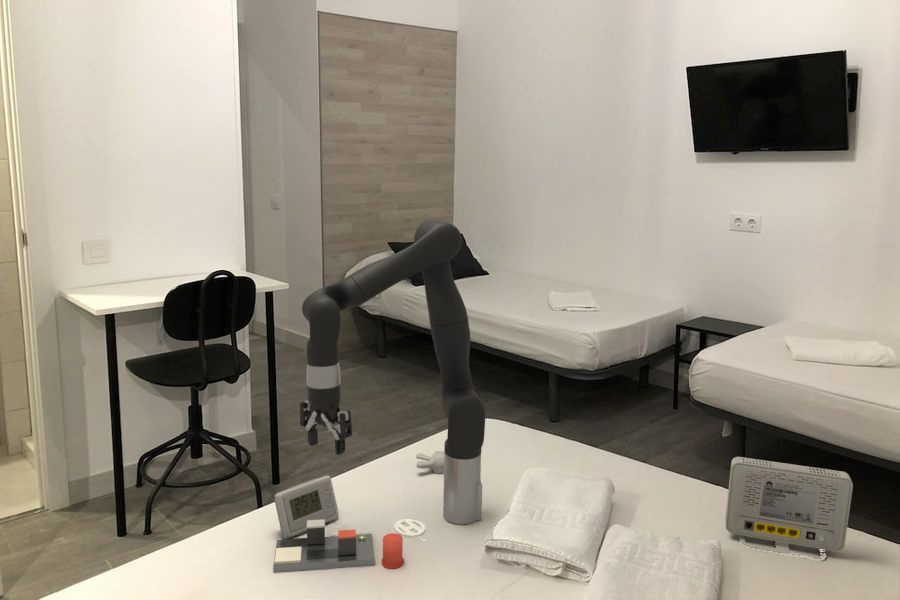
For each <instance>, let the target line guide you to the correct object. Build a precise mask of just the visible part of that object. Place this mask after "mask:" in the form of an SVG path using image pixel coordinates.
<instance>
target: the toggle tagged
mask: <svg viewBox="0 0 900 600" xmlns="http://www.w3.org/2000/svg"><path fill="white" fill-rule="evenodd" d="M356 535H357V529H356V528H354V529H341V530H337V536H338V555H352V554H356Z"/></svg>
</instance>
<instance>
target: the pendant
mask: <svg viewBox="0 0 900 600" xmlns="http://www.w3.org/2000/svg"><path fill="white" fill-rule="evenodd" d="M404 525H407V526H404ZM413 531H415V532H413ZM394 532H395V533H396V534H399V535H401V536H402V537H405V538H417V537H418V538H419V539H420V540H421V542H427V540H426V538H422V537H421V536H423V535H424V534H425V532H426V526H425V525H424V523H422V522H421V521H419V520H416V519H413V518H405V519H404V518H403V519H400V520H398V521H396V522H395V523H394Z"/></svg>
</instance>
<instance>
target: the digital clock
mask: <svg viewBox="0 0 900 600" xmlns="http://www.w3.org/2000/svg"><path fill="white" fill-rule="evenodd" d="M333 486H334V485H333V481H332V477H331V476H330V475H324V476H321V477H317V478H313V479H309V480H307V481H305V482H301V483H299V484H297V485H294V486H291V487H288V488H287V489H285V490H282V491H279V492H277V493H275V494H274V496H273V498H274V504H275V508H276V509H275V510H276V513H277V518H278V523H279V527H280V532H281V535H282V537H283V539H291V538H294V537H295V536H300V535H302V534H304V533H307V520H322V519H325V525H327V524H328V523H329V522H332V521H334V520H336V519H337V518H339V514H340V513H339V508H338V504H337V500H336V495H335V490H334V487H333Z"/></svg>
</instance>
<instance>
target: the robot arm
mask: <svg viewBox="0 0 900 600" xmlns="http://www.w3.org/2000/svg"><path fill="white" fill-rule="evenodd" d="M461 233H462V232H460V230H459V229H458V228H457V226H455V225H454V224H451V223H450V222H448V221H447V222H446V221H442V220H435V219H428V220H424V221H422V222H421V223H420V224H419V225H417V228H416V230H415V232H414V235H413V236H414V237H413V243H412V244H411V245H409V246H408V247H406V248H404V249H402V250H400V251H398V252H395V253H393V254H392V255H389V256H387V257H383V258H381V259H378V260H376V261H373V262H370V263H369V264H367V265H364V266H363V267H362V268H360V269H358V270H356V271H355V272H353V273H351V274H349V275H348V276H346V277H344V278H343V279H341V280H339V281H337V282H333V283H331V284H329V285H326V286H323V287H321V288H319V289H317V290H315V291H313V292H312V293H310V294H308V296H307V297H306V298H305V299H304V301H303V302H302V304H301V312H302V315H303V317H304V319H306V320H307V321H308V323H309V339H308V340H307V342H306V390H307V391H306V393H307V394H306V395H307V397H306V398H307V399H306V400H304V401H301V402H300V404H299V425H300V427H304V428H305V430H306V431H307V441H308V446H310V447H314V446H317V445H318V443H319V438H318V428H317V427H318V426H319V425H320V426H323V427H326V428H327V429H328V431H329V432H331V433H332V434H333V437H334V448H335V451H334V452H335V453H334V454H335V455H337V456H340V455H342V454H344V453H345V451H346V439H348V438H349V437H351V436H353V426H352V413H351V411H350V410H345V411H343V410H341V409H340V403H341V401H342V381H341V379H342V378H341V367H340V357H339V356H340V355H339V339H340V338H339V337H340V331H341V322H342V320H341V319H342V317H341V311H343V310H345V309H347V308H356V307H360V306H362V305H363V304H366V302H368V301H371V300H372V299H374V298H375V297H377V296H378V295H380V294H381V293H383V292H385V291H386V290H388V289H389V288H392V287H393V286H395V285H396V284H399V283H401V282H402V281H404V280H405V279H406V280H407V278H410V277H411V276H413V275H416V274H418V273H420V272H421V274H422V279H423V284H424V292H425V299H426V304H427V305H426V306H427V311H428V320H429V326H430V327H429V328H430V331H431V332H430V333H431V338H432V341H433V347H434V351H435V355H436V360H437V363H438V367H439V371H440V381H441V394H442V395H441V397H442V409H443V412H444V414H445V416H446V417H447V439H446V440H445V441H444V451H443V452H444V473H443V498H442V499H443V503H442V504H443V505H442V516H443V518H444V520H446V521H447V522H449V523H452V524H455V525H468V524H473V523H475V522H476V521H481V520H482V511H483V508H482V507H483V506H482V505H483V483H482V481H481V480H482V479H481V478H482V477H481V475H482V474H481V472H482V466H481V465H482V448H483V445H484V442H485V430H486V429H485V427H486V408H485V407H486V406H485V405H484V402H483V401H482V400H481V398H480V397H479V396H478V395H477V392H476V389H475V387H474V384H473V381H472V375H471V370H470V352H471V330H470V329H471V328H470V324H469V316H468V312H467V309H466V305H465V302H464V300H463V298H462V295H461V293H460V291H459V289H458V287H457V284H456V282H455V279H454V275H453V272H452V267H451V266H452V265H451V259H453V258H454V257H455V256H456V255H457V254H458V253H459V252H460V250H461V248H462V243H463V238H462V237H463V236H462V234H461ZM335 424H336V425H335Z"/></svg>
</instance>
